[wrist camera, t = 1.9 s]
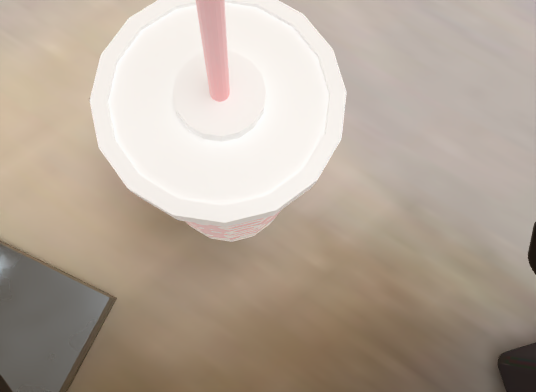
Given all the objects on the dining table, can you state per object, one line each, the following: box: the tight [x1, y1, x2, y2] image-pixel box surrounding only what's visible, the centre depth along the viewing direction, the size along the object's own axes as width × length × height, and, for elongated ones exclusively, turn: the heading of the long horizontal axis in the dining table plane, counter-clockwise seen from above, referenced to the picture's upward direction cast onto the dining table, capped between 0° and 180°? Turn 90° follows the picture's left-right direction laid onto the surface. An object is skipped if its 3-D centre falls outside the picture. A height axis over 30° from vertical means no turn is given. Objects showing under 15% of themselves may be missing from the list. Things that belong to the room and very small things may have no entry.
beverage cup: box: [90, 0, 347, 242], centre depth 13 cm, size 6×6×14 cm
